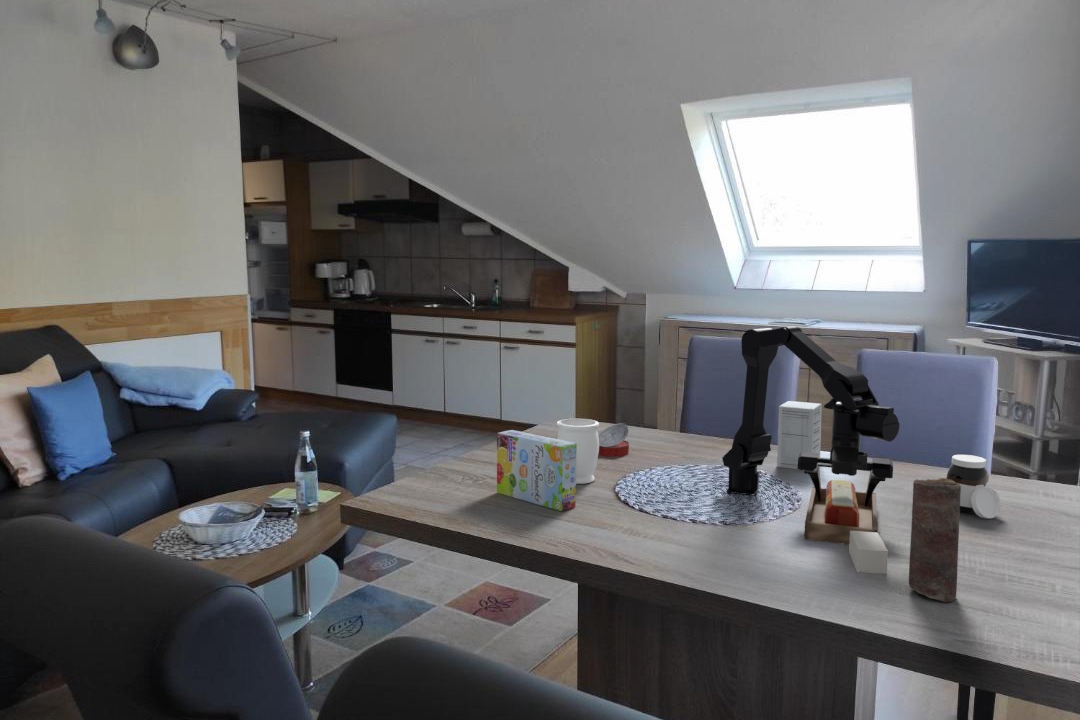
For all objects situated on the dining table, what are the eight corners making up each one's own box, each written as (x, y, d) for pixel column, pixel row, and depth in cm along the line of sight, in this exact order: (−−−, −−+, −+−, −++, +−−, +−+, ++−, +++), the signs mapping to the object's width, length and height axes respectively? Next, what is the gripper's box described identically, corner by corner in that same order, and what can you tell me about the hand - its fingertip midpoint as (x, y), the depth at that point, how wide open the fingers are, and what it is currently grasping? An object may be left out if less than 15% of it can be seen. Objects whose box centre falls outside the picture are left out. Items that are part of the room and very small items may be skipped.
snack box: (577, 507, 185) (578, 442, 183) (561, 512, 181) (561, 446, 179) (511, 488, 199) (511, 428, 197) (495, 493, 195) (494, 431, 193)
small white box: (857, 572, 148) (858, 549, 147) (848, 552, 157) (850, 530, 157) (886, 575, 147) (888, 551, 146) (876, 555, 156) (877, 532, 156)
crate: (804, 539, 164) (804, 522, 164) (811, 501, 189) (812, 486, 188) (877, 548, 159) (878, 530, 159) (875, 508, 184) (876, 493, 183)
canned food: (627, 471, 232) (632, 445, 226) (592, 467, 232) (596, 441, 226) (626, 444, 241) (631, 419, 235) (592, 441, 241) (597, 415, 235)
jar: (550, 483, 203) (551, 424, 201) (565, 472, 213) (565, 416, 211) (591, 487, 199) (591, 427, 197) (604, 477, 209) (604, 419, 207)
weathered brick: (907, 599, 136) (915, 483, 133) (905, 582, 143) (912, 471, 140) (958, 606, 133) (967, 488, 131) (953, 589, 140) (961, 476, 137)
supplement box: (820, 464, 221) (823, 403, 219) (812, 472, 213) (815, 409, 211) (785, 459, 226) (788, 399, 224) (775, 466, 219) (778, 405, 216)
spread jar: (955, 500, 190) (958, 451, 188) (1008, 511, 182) (1012, 460, 180) (935, 511, 182) (939, 460, 180) (991, 523, 174) (995, 470, 172)
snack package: (825, 503, 185) (826, 475, 184) (856, 507, 183) (857, 477, 182) (823, 534, 165) (825, 502, 164) (858, 538, 163) (860, 505, 162)
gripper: (797, 436, 167) (793, 509, 169) (896, 444, 161) (891, 520, 163) (801, 425, 178) (797, 494, 180) (894, 432, 171) (889, 504, 173)
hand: (842, 503), depth 173 cm, fingers open, 9 cm apart
